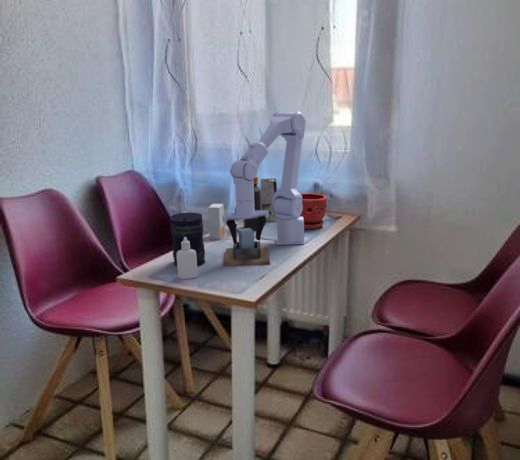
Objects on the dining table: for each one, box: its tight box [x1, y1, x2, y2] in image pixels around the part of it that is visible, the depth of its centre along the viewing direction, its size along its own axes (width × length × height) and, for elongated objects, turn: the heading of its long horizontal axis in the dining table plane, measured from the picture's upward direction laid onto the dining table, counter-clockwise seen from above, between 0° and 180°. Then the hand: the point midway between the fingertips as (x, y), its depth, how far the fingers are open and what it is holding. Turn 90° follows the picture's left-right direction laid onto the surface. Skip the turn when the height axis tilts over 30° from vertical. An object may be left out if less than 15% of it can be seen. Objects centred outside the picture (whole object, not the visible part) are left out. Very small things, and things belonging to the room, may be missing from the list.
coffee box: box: [260, 178, 278, 222], centre depth 195 cm, size 9×6×16 cm
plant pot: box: [299, 192, 328, 230], centre depth 183 cm, size 13×13×12 cm
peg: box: [237, 228, 255, 249], centre depth 151 cm, size 4×4×8 cm
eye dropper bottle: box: [176, 237, 199, 280], centre depth 136 cm, size 4×6×12 cm
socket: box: [223, 240, 271, 267], centre depth 152 cm, size 14×14×4 cm
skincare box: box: [207, 203, 225, 241], centre depth 172 cm, size 6×4×12 cm
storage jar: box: [169, 212, 206, 268], centre depth 147 cm, size 10×10×15 cm
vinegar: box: [243, 176, 262, 232], centre depth 181 cm, size 7×7×20 cm
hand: (246, 241), depth 151 cm, fingers open, 7 cm apart
